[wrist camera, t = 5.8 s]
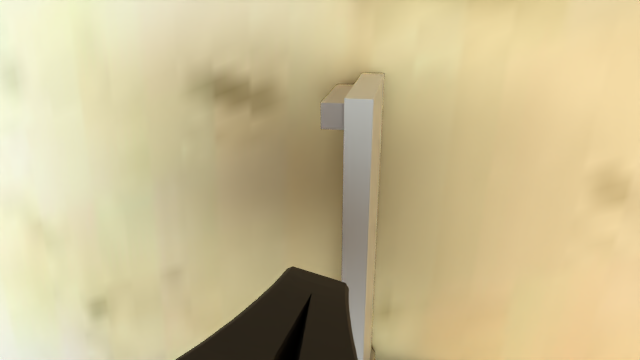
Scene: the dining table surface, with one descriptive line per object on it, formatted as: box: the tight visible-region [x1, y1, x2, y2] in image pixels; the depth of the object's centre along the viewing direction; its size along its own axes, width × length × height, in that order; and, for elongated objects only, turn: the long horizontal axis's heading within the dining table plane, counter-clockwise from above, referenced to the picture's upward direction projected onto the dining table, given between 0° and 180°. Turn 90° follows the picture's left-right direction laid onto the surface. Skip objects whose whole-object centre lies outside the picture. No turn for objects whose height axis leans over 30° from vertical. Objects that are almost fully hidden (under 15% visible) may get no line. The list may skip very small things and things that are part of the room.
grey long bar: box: [321, 73, 384, 360], centre depth 17 cm, size 14×2×4 cm, turn 1°
